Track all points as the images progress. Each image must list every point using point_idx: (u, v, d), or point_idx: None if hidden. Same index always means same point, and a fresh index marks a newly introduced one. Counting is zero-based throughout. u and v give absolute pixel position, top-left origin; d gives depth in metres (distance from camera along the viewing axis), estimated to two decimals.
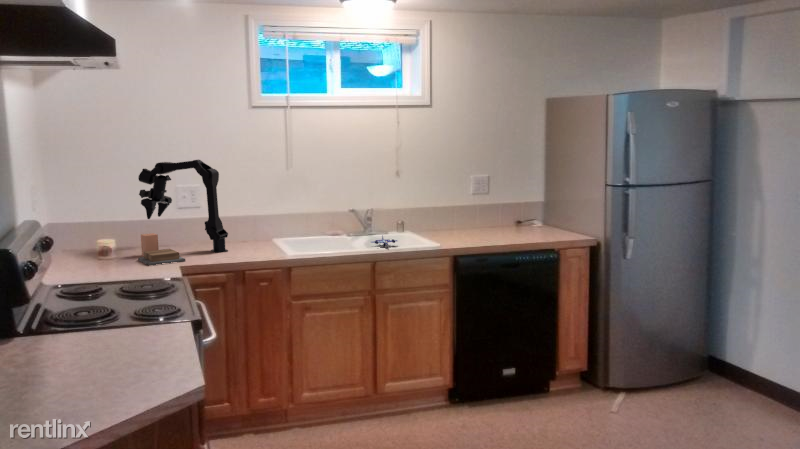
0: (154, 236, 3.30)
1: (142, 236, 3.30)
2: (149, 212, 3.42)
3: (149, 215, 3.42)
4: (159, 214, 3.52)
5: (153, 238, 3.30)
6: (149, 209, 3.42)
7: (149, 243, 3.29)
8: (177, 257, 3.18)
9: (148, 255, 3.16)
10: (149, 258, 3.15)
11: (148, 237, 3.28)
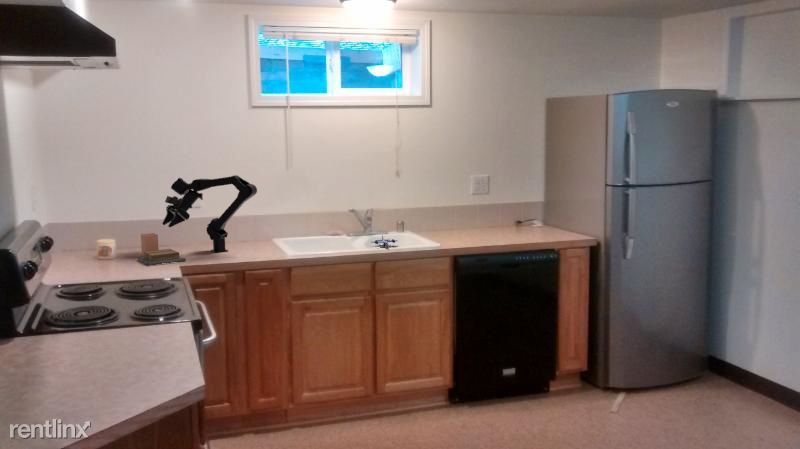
0: (154, 236, 3.30)
1: (142, 236, 3.30)
2: (175, 221, 3.32)
3: (173, 224, 3.32)
4: (165, 223, 3.40)
5: (153, 238, 3.30)
6: (177, 219, 3.33)
7: (149, 243, 3.29)
8: (177, 257, 3.18)
9: (148, 255, 3.16)
10: (149, 258, 3.15)
11: (148, 237, 3.28)
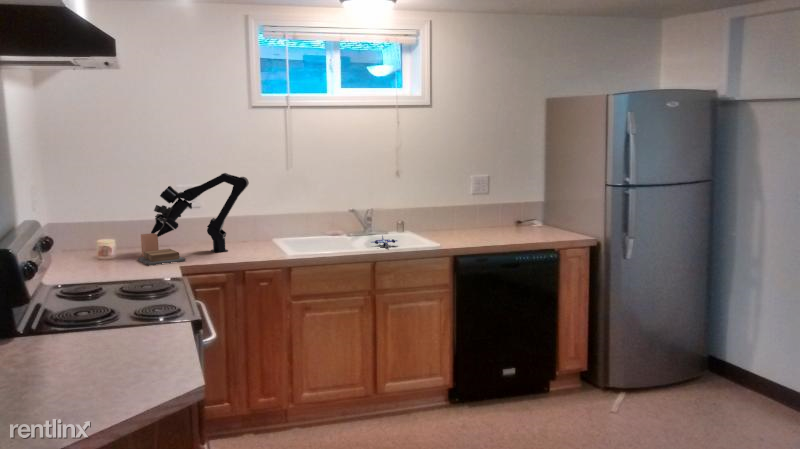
0: (154, 236, 3.30)
1: (142, 236, 3.30)
2: (164, 231, 3.30)
3: (161, 233, 3.30)
4: (153, 232, 3.37)
5: (153, 238, 3.30)
6: (166, 228, 3.30)
7: (149, 243, 3.29)
8: (177, 257, 3.18)
9: (148, 255, 3.16)
10: (149, 258, 3.15)
11: (148, 237, 3.28)
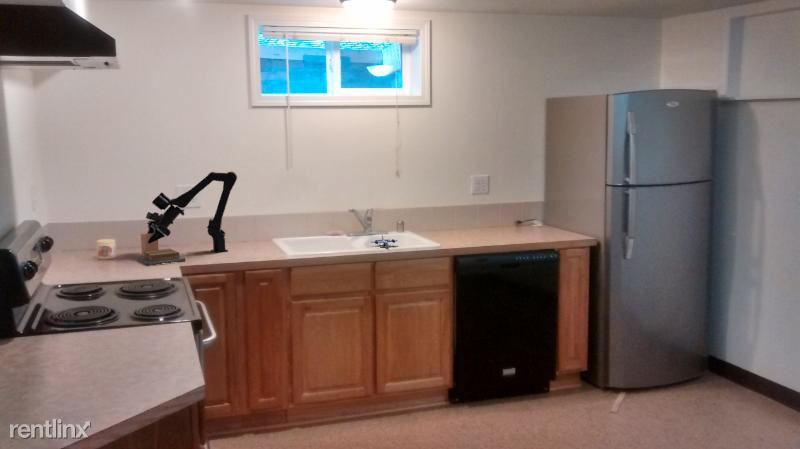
0: None
1: (142, 236, 3.30)
2: (155, 237, 3.29)
3: (153, 240, 3.29)
4: None
5: None
6: (157, 235, 3.29)
7: None
8: (177, 257, 3.18)
9: (148, 255, 3.16)
10: (149, 258, 3.15)
11: (148, 237, 3.28)
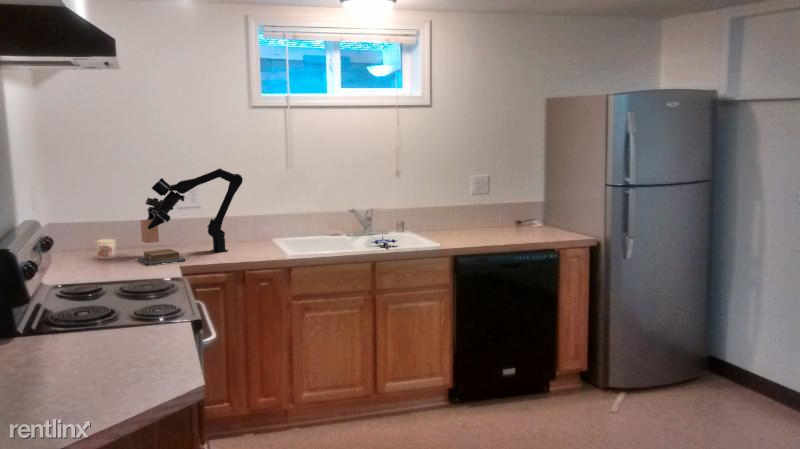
0: None
1: (142, 222, 3.29)
2: (155, 223, 3.27)
3: (153, 226, 3.27)
4: None
5: None
6: (157, 221, 3.28)
7: (149, 229, 3.27)
8: (177, 257, 3.18)
9: (148, 255, 3.16)
10: (149, 258, 3.15)
11: (148, 223, 3.27)
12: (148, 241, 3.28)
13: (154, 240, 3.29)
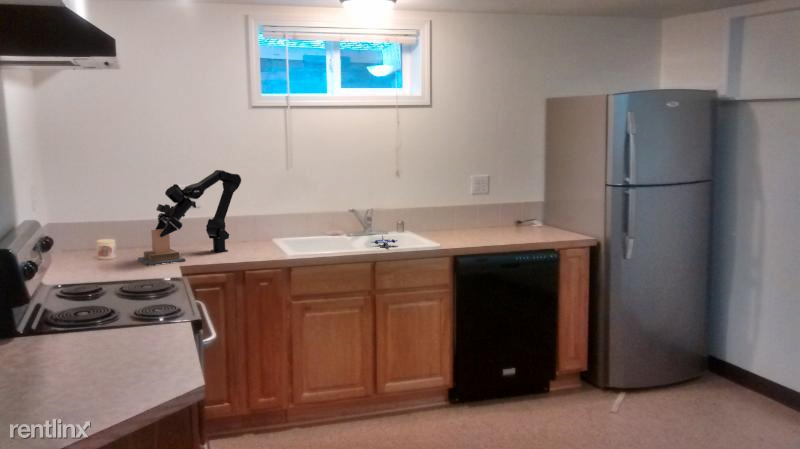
0: None
1: (153, 232, 3.17)
2: (167, 231, 3.14)
3: (165, 234, 3.14)
4: None
5: None
6: (169, 228, 3.15)
7: (160, 239, 3.16)
8: (177, 257, 3.18)
9: (148, 255, 3.16)
10: (149, 258, 3.15)
11: (159, 233, 3.15)
12: (158, 252, 3.16)
13: (165, 251, 3.18)
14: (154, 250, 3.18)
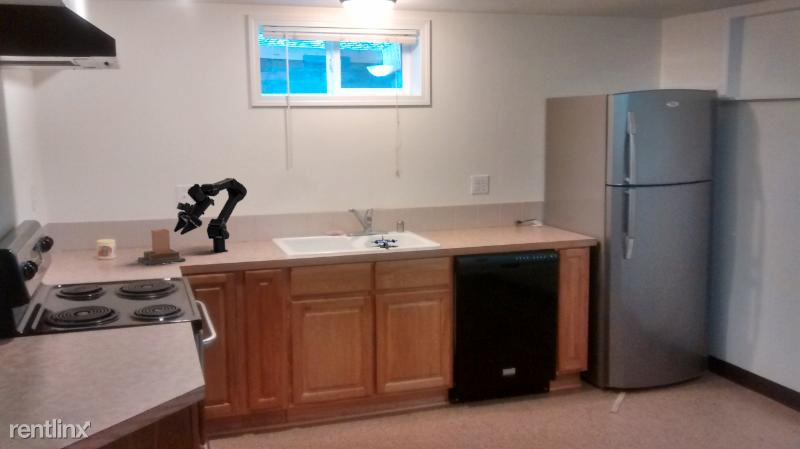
0: (165, 232, 3.17)
1: (153, 232, 3.17)
2: (188, 229, 3.20)
3: (185, 231, 3.20)
4: (176, 230, 3.28)
5: (164, 234, 3.17)
6: (189, 226, 3.21)
7: (160, 239, 3.16)
8: (177, 257, 3.18)
9: (148, 255, 3.16)
10: (149, 258, 3.15)
11: (159, 233, 3.15)
12: (158, 252, 3.16)
13: (165, 251, 3.18)
14: (154, 250, 3.18)
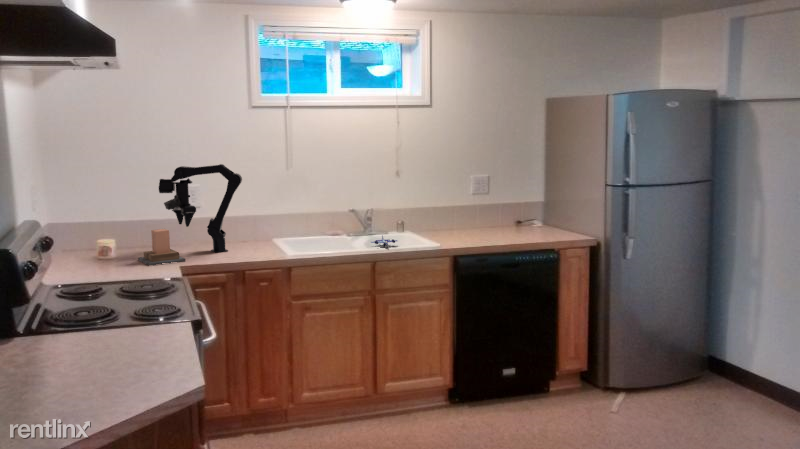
0: (165, 232, 3.17)
1: (153, 232, 3.17)
2: (189, 219, 3.34)
3: (189, 222, 3.35)
4: (180, 221, 3.42)
5: (164, 234, 3.17)
6: (188, 216, 3.34)
7: (160, 239, 3.16)
8: (177, 257, 3.18)
9: (148, 255, 3.16)
10: (149, 258, 3.15)
11: (159, 233, 3.15)
12: (158, 252, 3.16)
13: (165, 251, 3.18)
14: (154, 250, 3.18)
